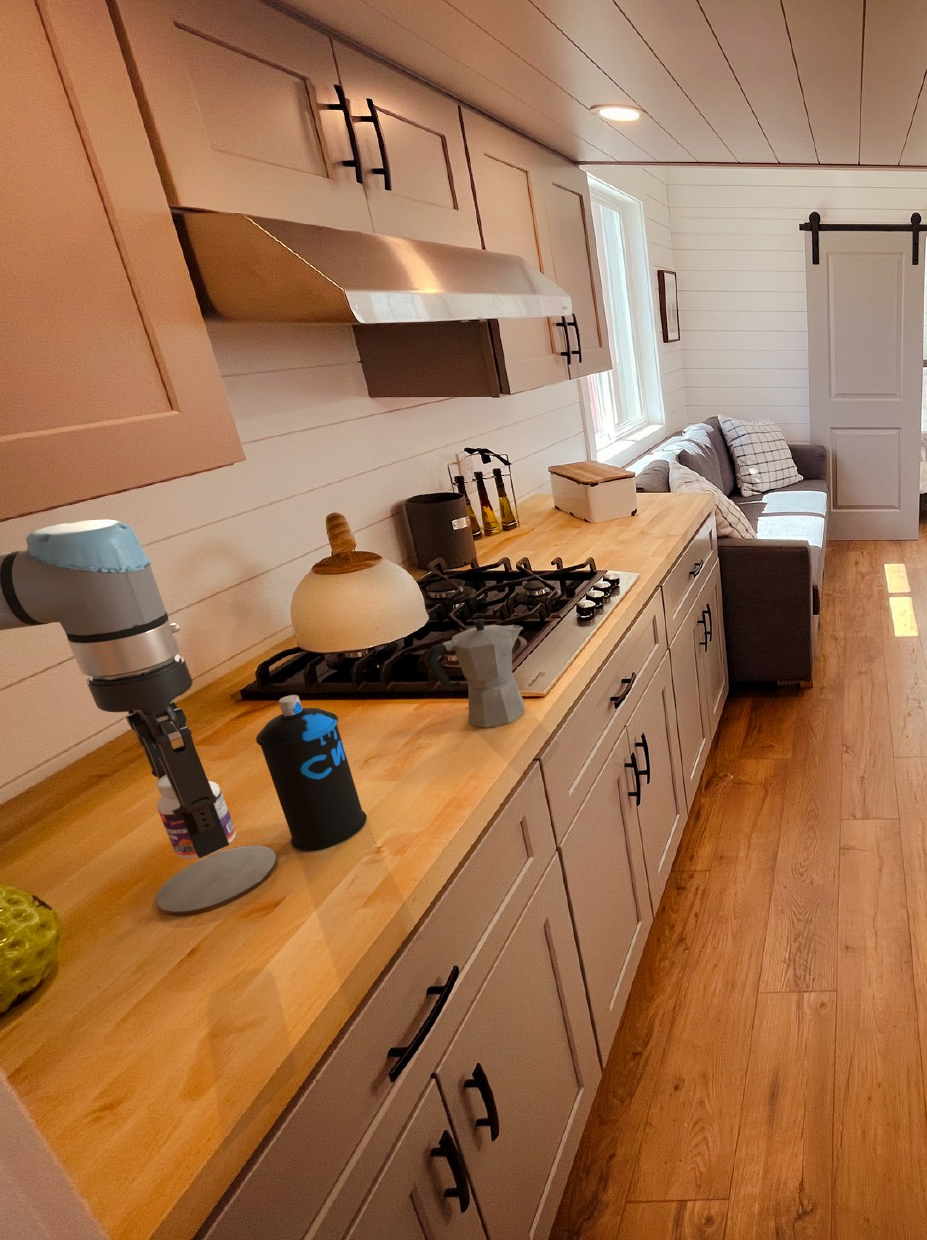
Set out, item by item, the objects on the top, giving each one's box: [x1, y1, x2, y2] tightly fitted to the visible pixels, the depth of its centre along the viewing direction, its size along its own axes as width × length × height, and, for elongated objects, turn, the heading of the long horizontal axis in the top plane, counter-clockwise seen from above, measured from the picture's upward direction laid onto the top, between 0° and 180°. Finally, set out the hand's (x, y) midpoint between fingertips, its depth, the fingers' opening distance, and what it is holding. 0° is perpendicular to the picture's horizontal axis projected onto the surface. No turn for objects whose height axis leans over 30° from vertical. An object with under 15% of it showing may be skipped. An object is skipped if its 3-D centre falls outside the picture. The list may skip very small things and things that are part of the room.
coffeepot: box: [424, 618, 526, 729], centre depth 118 cm, size 15×9×18 cm, turn 139°
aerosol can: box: [255, 694, 368, 851], centre depth 91 cm, size 8×8×20 cm
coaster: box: [155, 844, 279, 917], centre depth 85 cm, size 11×11×1 cm
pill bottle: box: [156, 772, 237, 860], centre depth 82 cm, size 5×5×10 cm
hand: (204, 839), depth 84 cm, fingers closed on pill bottle, 5 cm apart
